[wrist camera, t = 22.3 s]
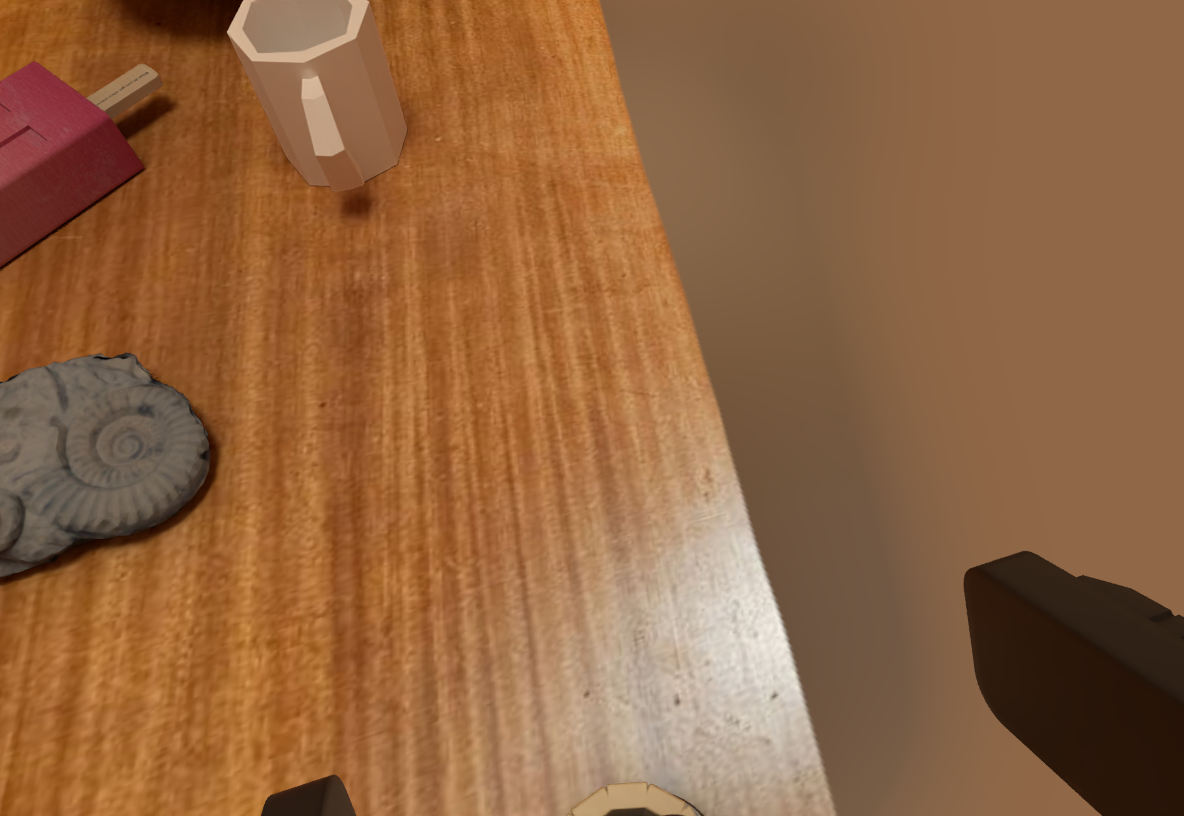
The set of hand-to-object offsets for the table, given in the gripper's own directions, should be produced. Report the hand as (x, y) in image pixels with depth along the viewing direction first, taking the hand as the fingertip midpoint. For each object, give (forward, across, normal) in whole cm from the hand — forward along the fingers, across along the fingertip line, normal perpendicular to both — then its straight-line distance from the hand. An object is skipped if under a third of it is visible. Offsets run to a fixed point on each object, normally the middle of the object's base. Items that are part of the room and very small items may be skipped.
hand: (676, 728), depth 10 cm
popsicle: (+57, +26, -15) cm, 64 cm away
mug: (+53, +6, -11) cm, 54 cm away
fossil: (+40, +26, +2) cm, 48 cm away
